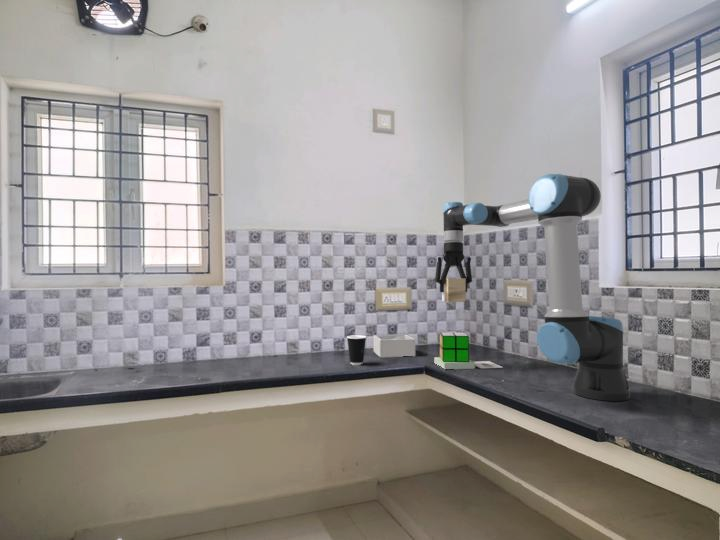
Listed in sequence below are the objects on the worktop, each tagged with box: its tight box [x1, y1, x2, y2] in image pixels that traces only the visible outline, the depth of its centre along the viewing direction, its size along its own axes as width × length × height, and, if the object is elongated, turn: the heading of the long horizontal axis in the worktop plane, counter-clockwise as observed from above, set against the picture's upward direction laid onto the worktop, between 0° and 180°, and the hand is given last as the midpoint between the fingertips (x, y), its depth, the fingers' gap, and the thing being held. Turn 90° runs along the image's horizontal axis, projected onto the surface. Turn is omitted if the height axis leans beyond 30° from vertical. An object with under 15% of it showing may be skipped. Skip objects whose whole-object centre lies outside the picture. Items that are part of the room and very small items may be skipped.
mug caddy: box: [373, 334, 416, 358], centre depth 199 cm, size 16×16×8 cm
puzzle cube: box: [439, 331, 470, 362], centre depth 172 cm, size 10×10×10 cm
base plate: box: [433, 356, 476, 370], centre depth 172 cm, size 12×12×2 cm
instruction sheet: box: [474, 360, 504, 369], centre depth 174 cm, size 12×9×1 cm
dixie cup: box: [346, 334, 367, 366], centre depth 176 cm, size 8×8×11 cm
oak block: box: [444, 277, 467, 303], centre depth 172 cm, size 7×7×9 cm
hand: (453, 300), depth 172 cm, fingers closed on oak block, 7 cm apart
